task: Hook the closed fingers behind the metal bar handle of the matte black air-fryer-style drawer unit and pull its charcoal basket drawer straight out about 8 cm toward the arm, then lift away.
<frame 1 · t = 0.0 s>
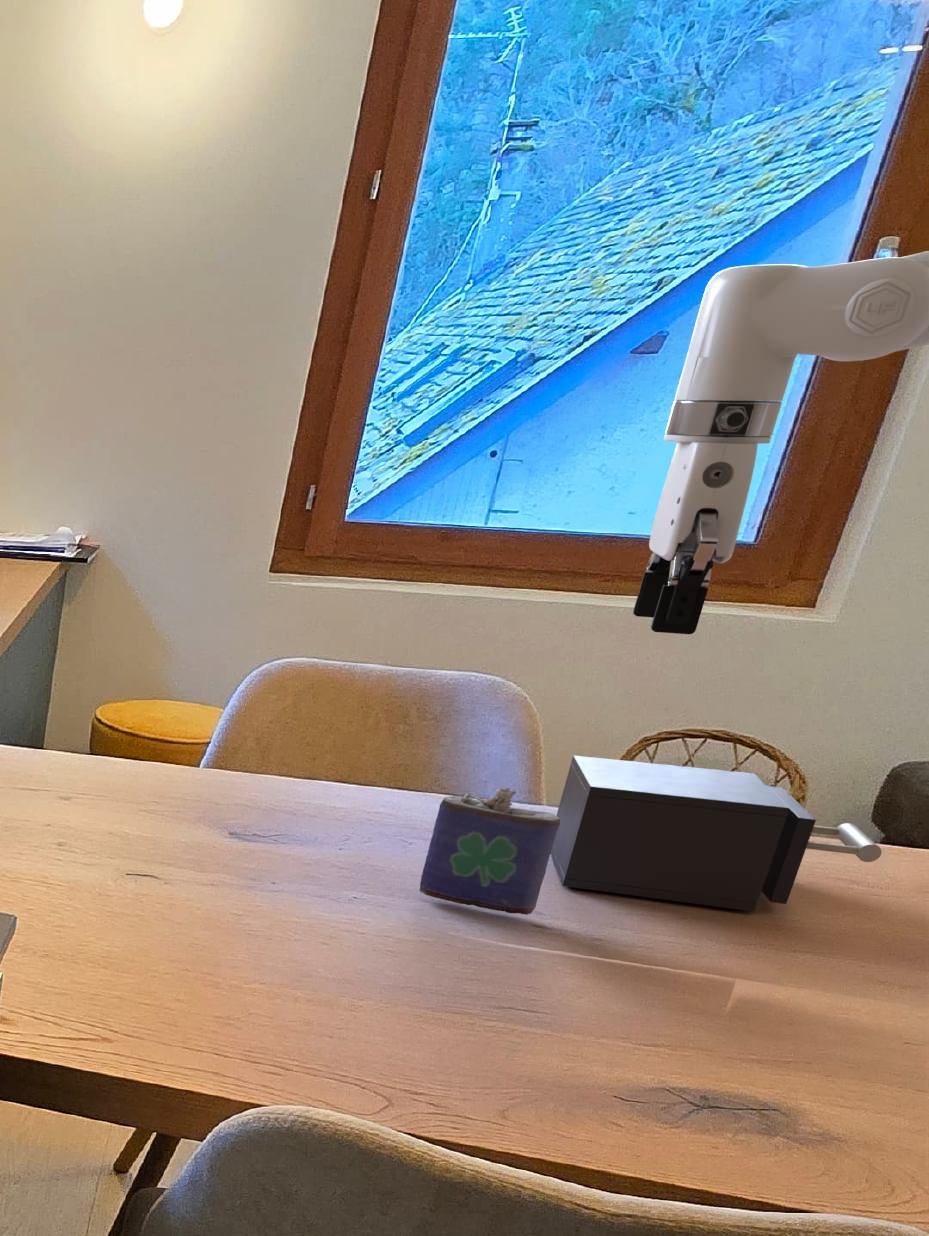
hand: (662, 624, 125), 23 cm above the table, tool pointing down, fingers open, 9 cm apart
flask: (473, 903, 124), on the table
fryer: (644, 877, 130), on the table
basket: (732, 838, 126), point 5 cm above the table, slide at 1.0 cm
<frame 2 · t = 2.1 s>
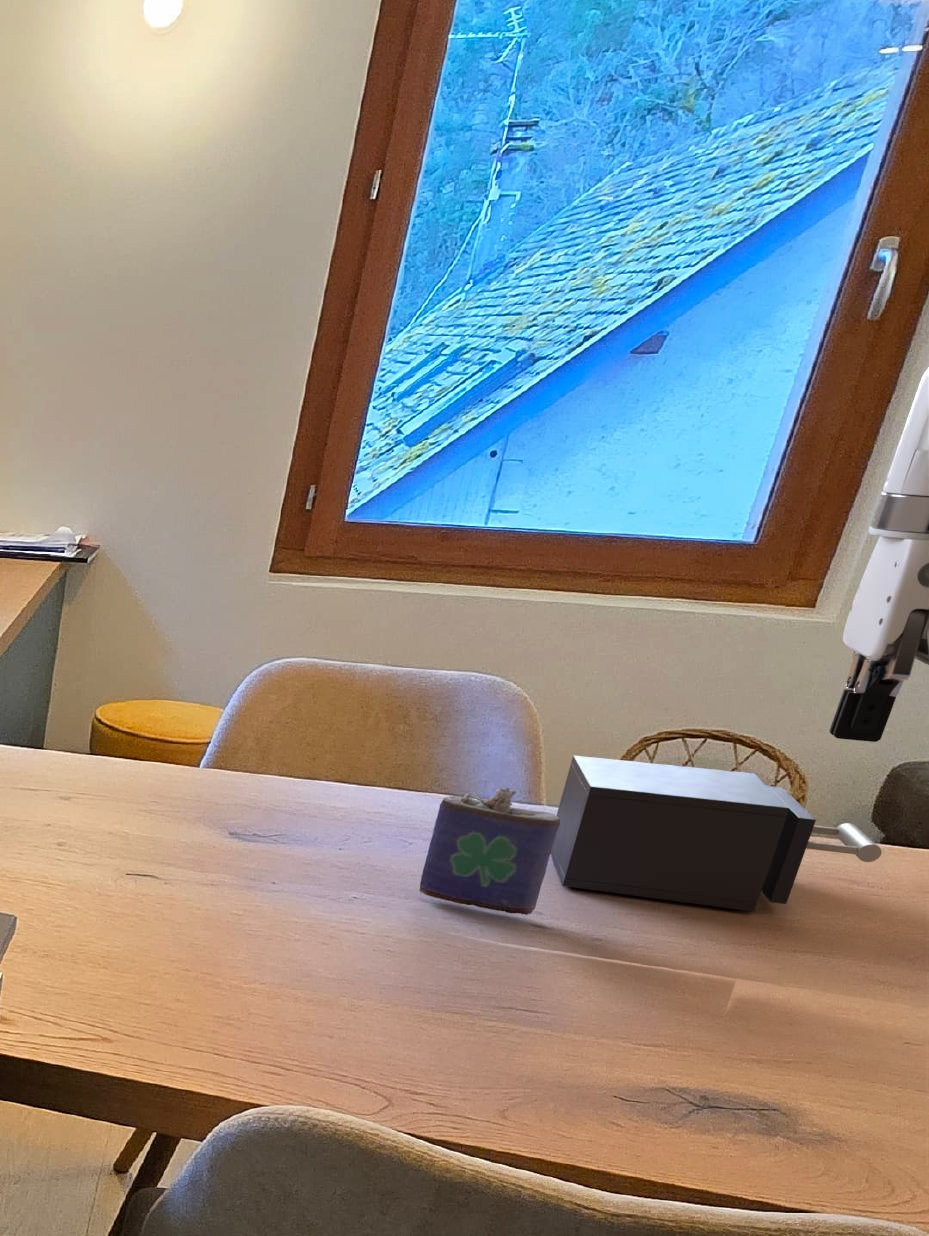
hand: (853, 737, 119), 15 cm above the table, tool pointing down, fingers closed
nothing on the table moved.
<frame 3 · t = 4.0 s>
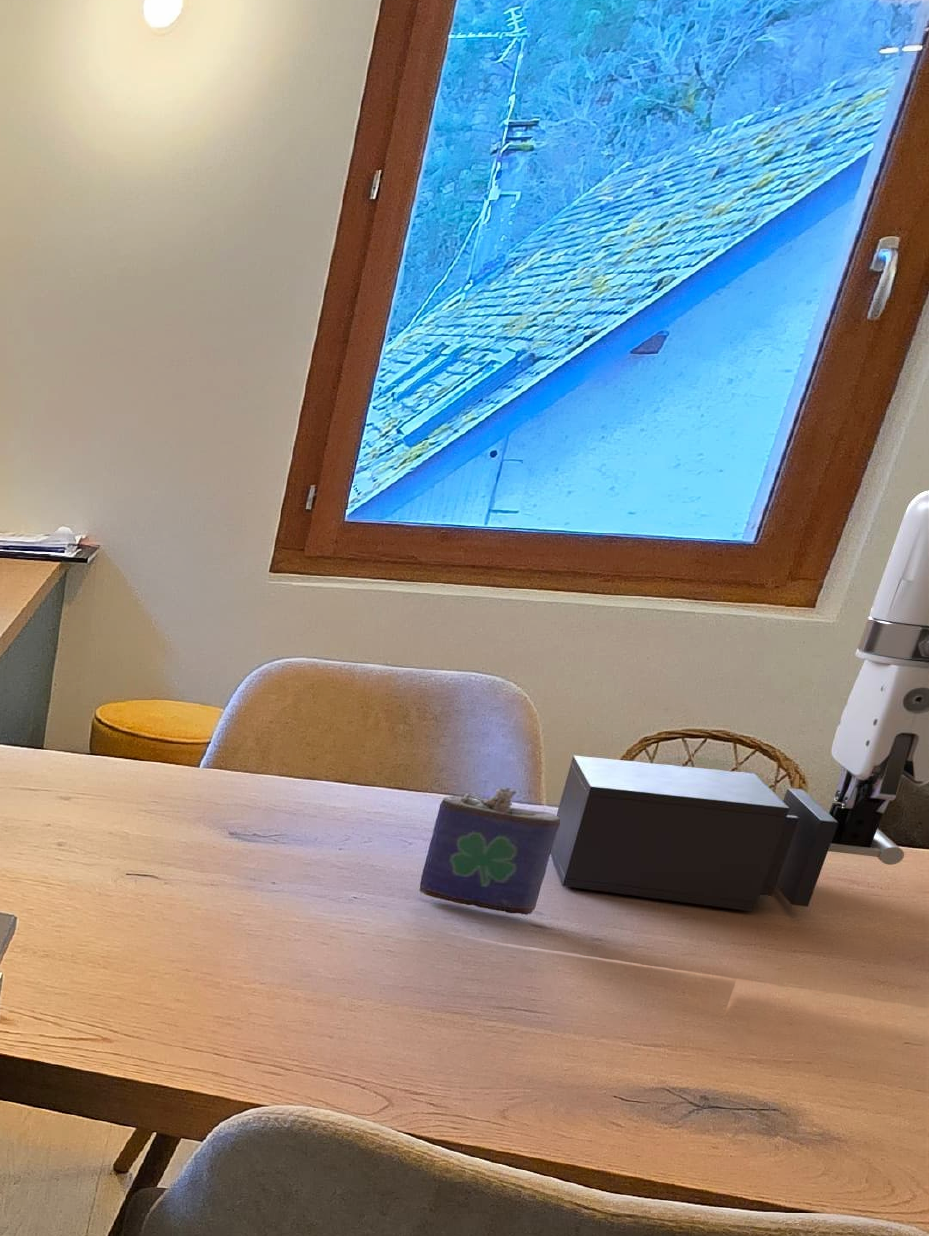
hand: (842, 849, 122), 5 cm above the table, tool pointing down, fingers closed
basket: (753, 840, 125), point 5 cm above the table, slide at 2.5 cm
everything else where it was.
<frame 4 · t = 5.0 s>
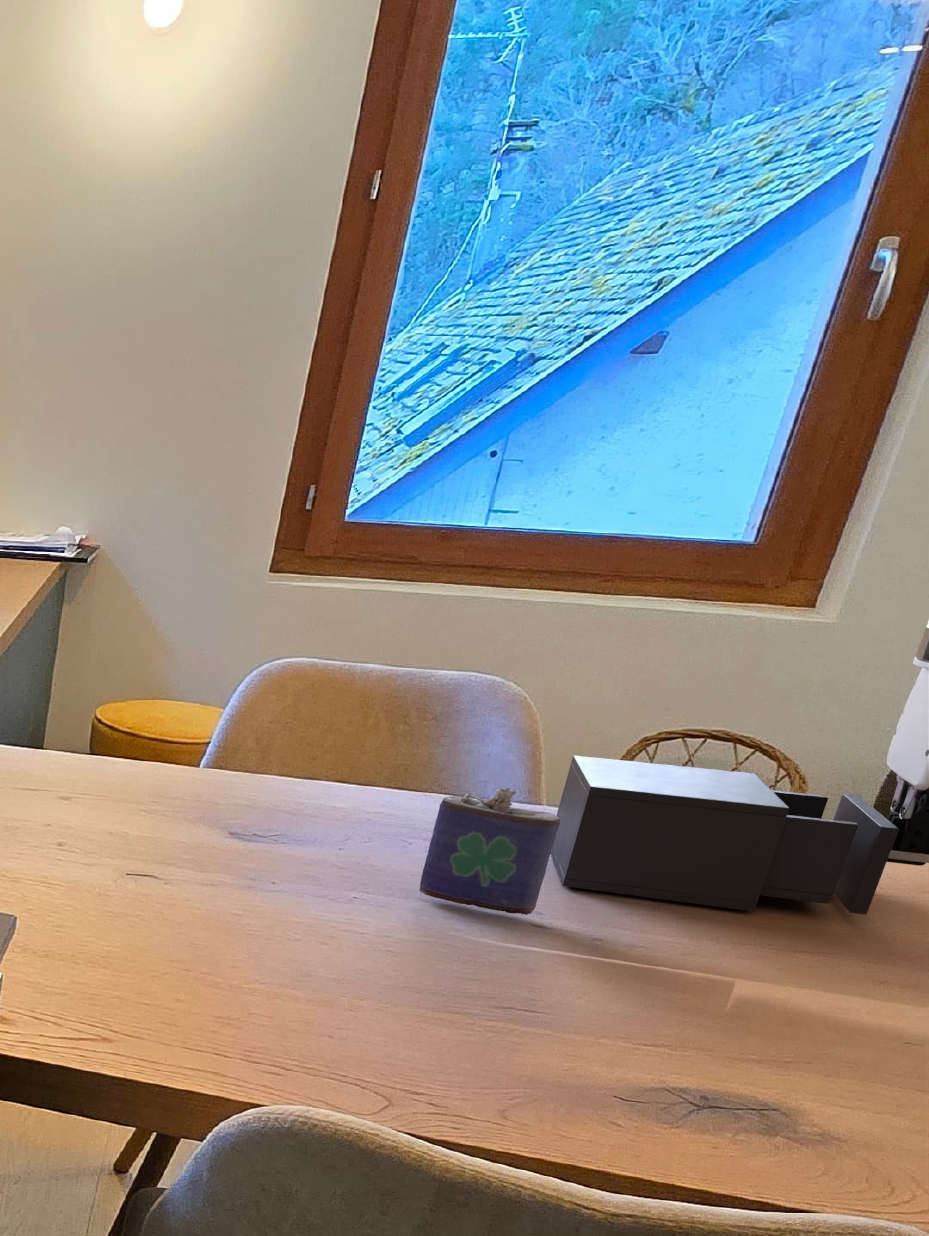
hand: (899, 860, 121), 5 cm above the table, tool pointing down, fingers closed
basket: (809, 847, 123), point 5 cm above the table, slide at 6.6 cm, touching gripper
everything else where it was.
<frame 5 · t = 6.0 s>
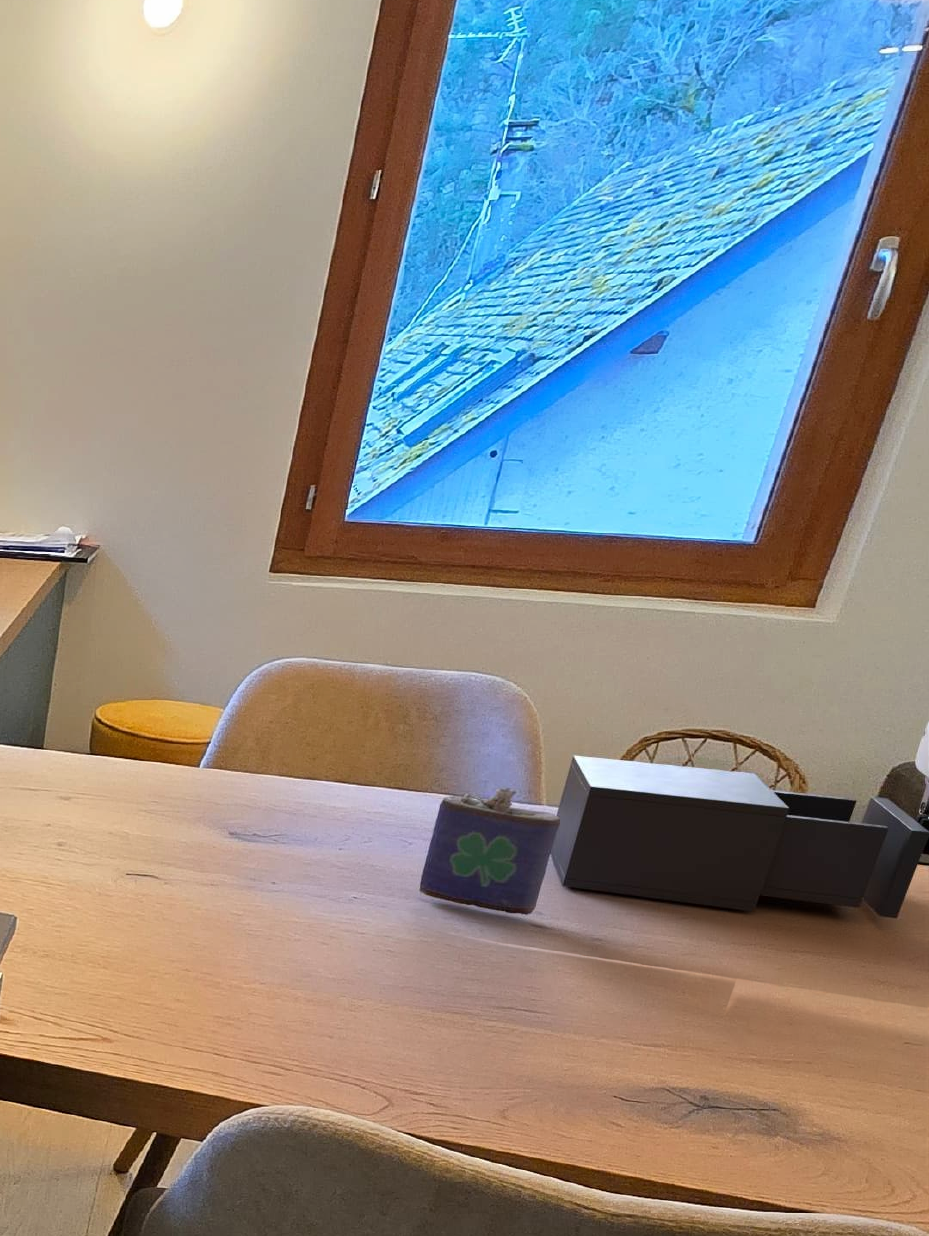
hand: (927, 863, 120), 5 cm above the table, tool pointing down, fingers closed
basket: (837, 850, 123), point 5 cm above the table, slide at 8.7 cm
everything else where it was.
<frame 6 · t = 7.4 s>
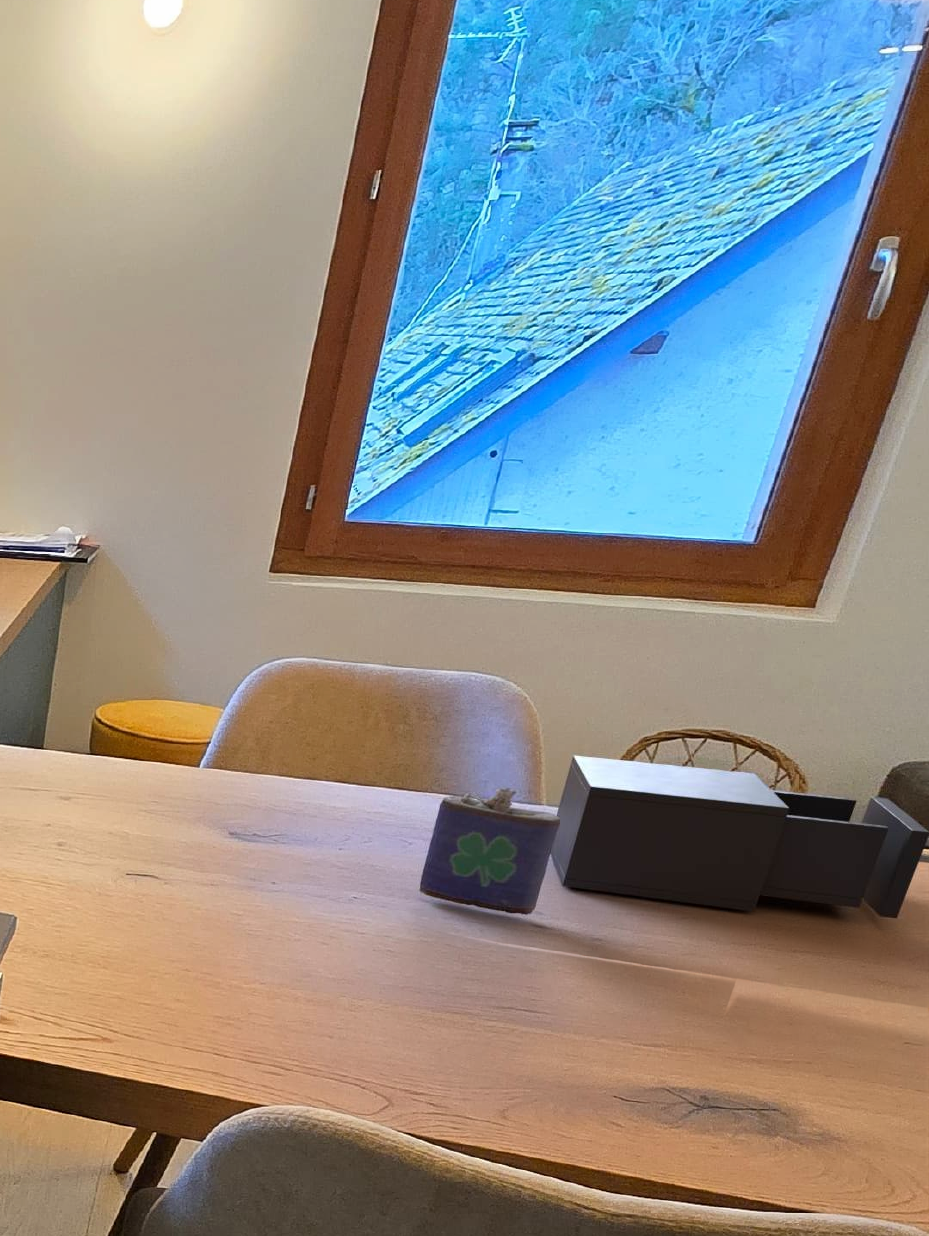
nothing on the table moved.
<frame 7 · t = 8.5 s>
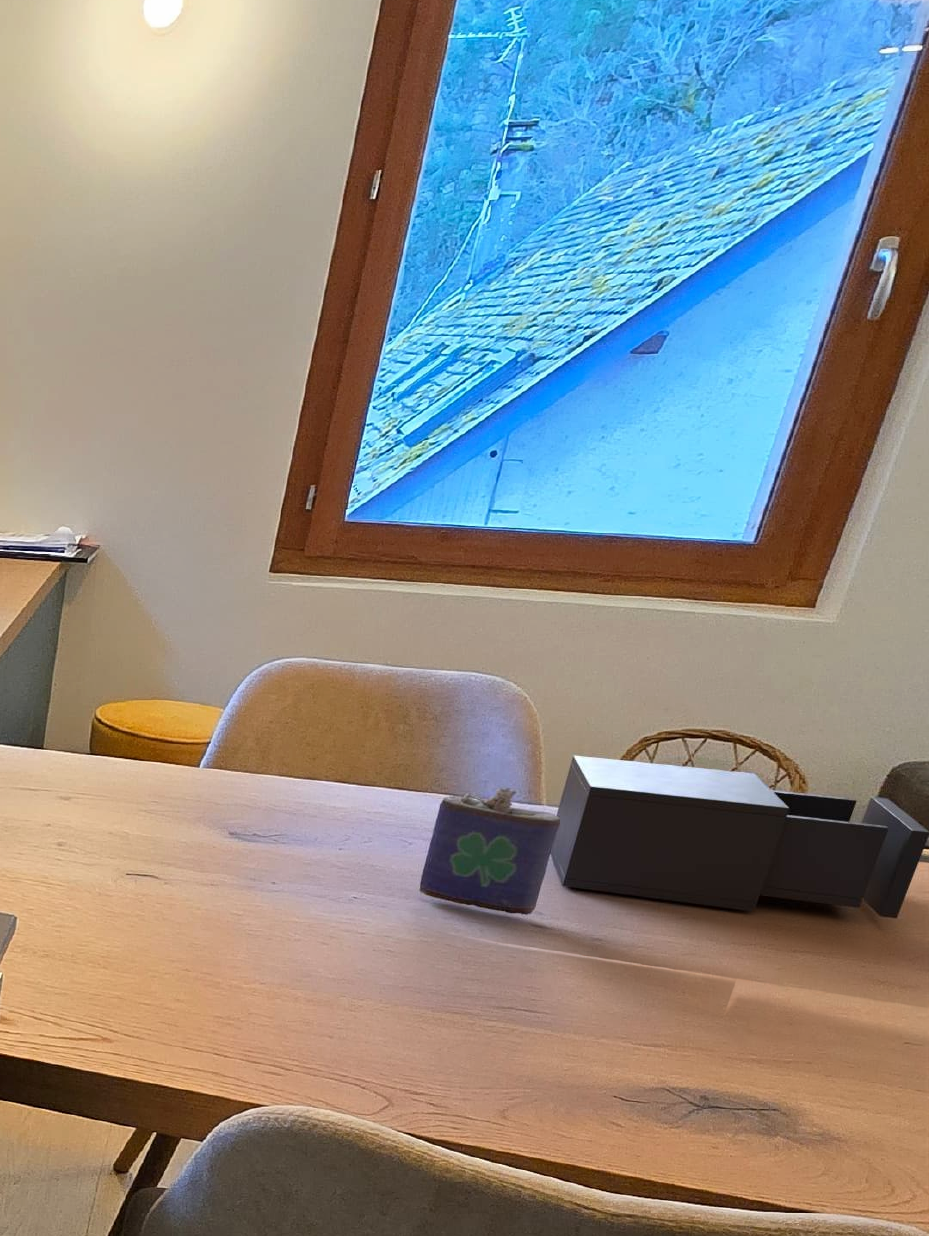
nothing on the table moved.
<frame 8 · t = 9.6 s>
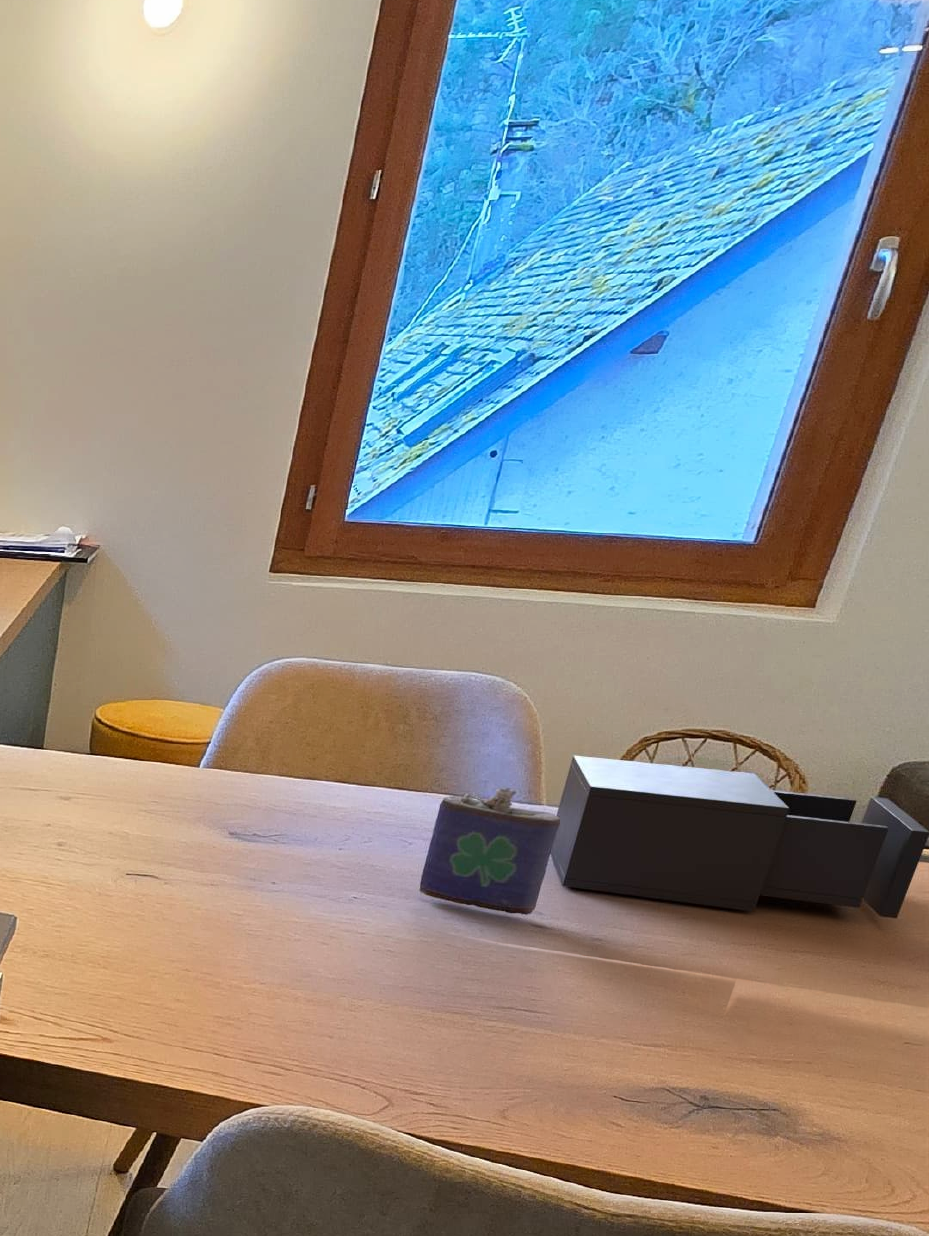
nothing on the table moved.
at the end: basket slide at 8.7 cm; flask moved 0.1 cm from its start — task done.
